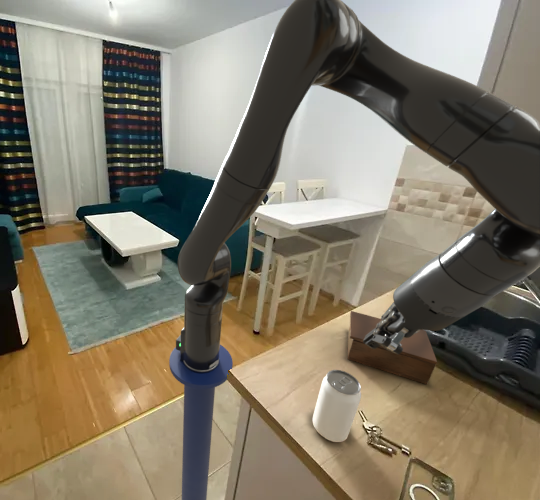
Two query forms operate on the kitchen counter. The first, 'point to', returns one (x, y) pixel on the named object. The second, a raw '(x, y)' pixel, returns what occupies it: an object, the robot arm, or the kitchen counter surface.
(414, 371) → the tray box
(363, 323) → the tray cover
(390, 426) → the kitchen counter surface
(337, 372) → the can
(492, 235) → the robot arm
